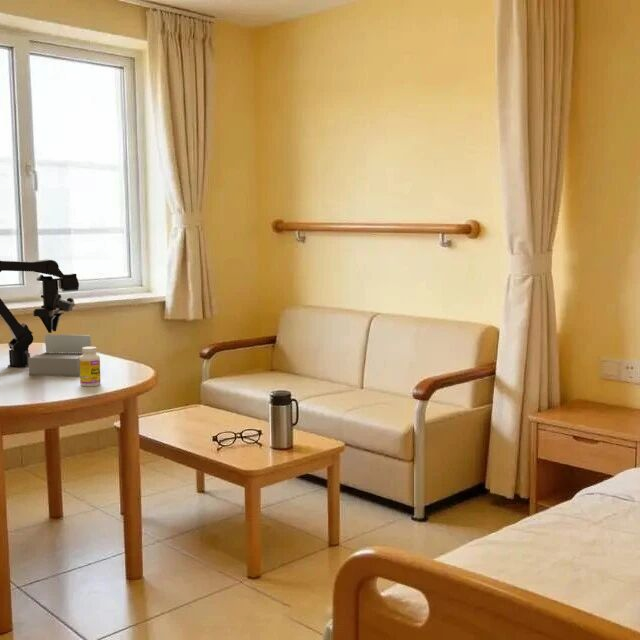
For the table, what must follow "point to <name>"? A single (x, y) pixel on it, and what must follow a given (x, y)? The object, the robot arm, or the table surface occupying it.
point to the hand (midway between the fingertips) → (52, 332)
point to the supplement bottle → (89, 367)
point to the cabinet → (55, 364)
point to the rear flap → (67, 343)
